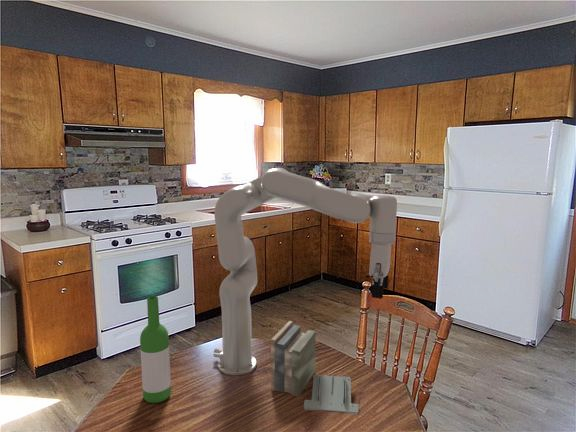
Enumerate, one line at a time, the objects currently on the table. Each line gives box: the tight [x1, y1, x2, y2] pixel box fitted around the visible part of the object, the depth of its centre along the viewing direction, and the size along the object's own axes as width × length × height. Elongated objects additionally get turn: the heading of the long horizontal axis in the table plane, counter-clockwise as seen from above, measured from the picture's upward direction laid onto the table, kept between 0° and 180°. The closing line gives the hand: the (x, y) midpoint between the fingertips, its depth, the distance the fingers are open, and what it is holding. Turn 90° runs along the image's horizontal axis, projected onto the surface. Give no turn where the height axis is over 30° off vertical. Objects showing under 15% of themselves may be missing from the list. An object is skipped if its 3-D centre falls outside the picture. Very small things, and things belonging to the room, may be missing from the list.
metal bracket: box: [303, 372, 359, 415], centre depth 117 cm, size 14×6×15 cm
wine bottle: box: [139, 295, 172, 404], centre depth 115 cm, size 8×8×30 cm
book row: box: [270, 320, 317, 398], centre depth 124 cm, size 9×14×16 cm, turn 158°
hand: (379, 292), depth 122 cm, fingers open, 9 cm apart
